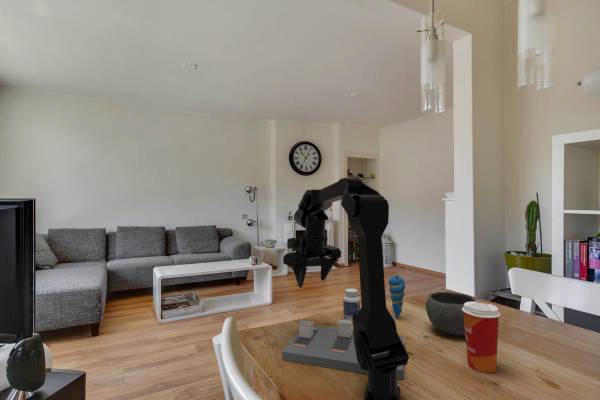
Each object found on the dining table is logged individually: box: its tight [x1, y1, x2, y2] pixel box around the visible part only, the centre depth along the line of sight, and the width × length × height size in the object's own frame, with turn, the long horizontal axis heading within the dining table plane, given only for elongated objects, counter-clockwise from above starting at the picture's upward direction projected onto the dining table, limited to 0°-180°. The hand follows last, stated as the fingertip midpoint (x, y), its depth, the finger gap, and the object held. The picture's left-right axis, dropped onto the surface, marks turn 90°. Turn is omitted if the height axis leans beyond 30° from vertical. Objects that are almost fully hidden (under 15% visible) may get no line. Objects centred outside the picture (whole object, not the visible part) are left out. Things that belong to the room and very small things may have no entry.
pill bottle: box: [342, 288, 361, 324], centre depth 100 cm, size 5×5×10 cm
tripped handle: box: [298, 319, 314, 338], centre depth 83 cm, size 2×3×4 cm
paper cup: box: [462, 301, 501, 374], centre depth 71 cm, size 8×8×14 cm
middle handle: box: [337, 319, 353, 338], centre depth 83 cm, size 2×3×4 cm
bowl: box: [425, 291, 479, 336], centre depth 91 cm, size 15×15×10 cm
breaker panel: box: [281, 324, 405, 381], centre depth 79 cm, size 18×28×2 cm, turn 71°
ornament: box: [388, 273, 406, 319], centre depth 102 cm, size 5×5×15 cm
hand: (311, 283), depth 92 cm, fingers open, 9 cm apart
